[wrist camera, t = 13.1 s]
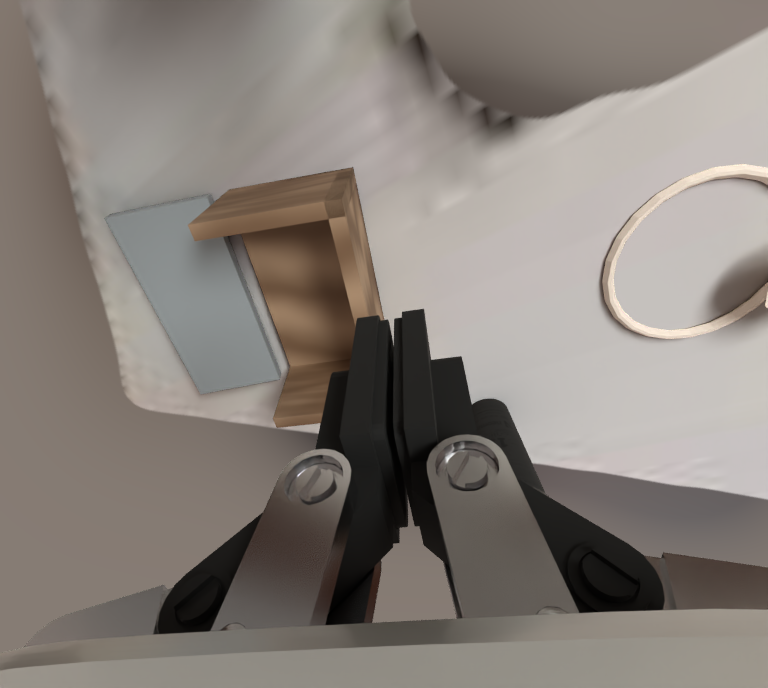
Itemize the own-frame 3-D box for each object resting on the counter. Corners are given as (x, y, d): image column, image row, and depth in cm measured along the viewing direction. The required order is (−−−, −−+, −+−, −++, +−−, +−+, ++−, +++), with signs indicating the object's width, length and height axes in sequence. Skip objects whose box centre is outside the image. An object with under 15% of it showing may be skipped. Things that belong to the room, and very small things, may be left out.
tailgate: (210, 193, 37) (110, 214, 38) (207, 197, 36) (104, 218, 37) (281, 372, 48) (203, 387, 49) (279, 379, 47) (200, 394, 48)
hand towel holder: (659, 173, 32) (943, 176, 32) (633, 160, 36) (887, 164, 35) (595, 357, 42) (812, 362, 41) (579, 333, 45) (779, 337, 45)
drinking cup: (528, 423, 52) (589, 596, 36) (470, 443, 55) (501, 614, 38) (507, 380, 49) (563, 551, 32) (445, 403, 51) (468, 574, 34)
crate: (229, 189, 37) (187, 225, 30) (353, 167, 36) (341, 198, 29) (295, 369, 48) (276, 427, 41) (391, 357, 47) (390, 415, 40)
